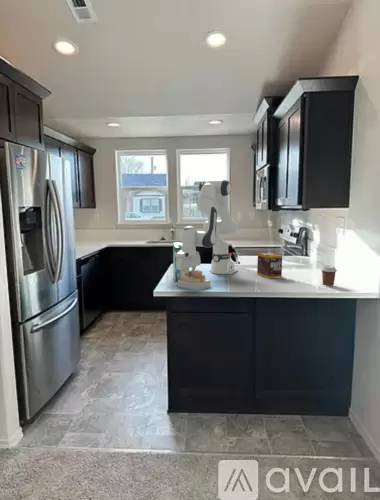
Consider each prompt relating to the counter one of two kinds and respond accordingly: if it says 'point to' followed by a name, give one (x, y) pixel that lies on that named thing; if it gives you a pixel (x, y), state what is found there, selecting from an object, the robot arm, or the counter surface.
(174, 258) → the milk carton
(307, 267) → the counter surface
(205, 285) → the block
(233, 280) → the counter surface
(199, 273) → the salmon pink cube
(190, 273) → the beige stepped block
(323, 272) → the coffee cup
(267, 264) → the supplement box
